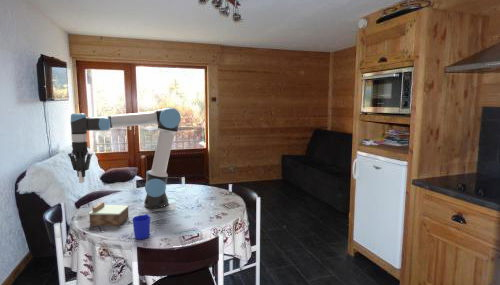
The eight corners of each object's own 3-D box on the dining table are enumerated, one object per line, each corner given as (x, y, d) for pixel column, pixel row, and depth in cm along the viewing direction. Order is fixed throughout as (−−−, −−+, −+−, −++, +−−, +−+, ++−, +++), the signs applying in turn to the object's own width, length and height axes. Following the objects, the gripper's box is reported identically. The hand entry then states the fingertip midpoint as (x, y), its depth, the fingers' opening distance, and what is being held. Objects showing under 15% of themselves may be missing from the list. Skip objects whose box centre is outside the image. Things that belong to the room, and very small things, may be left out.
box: (128, 217, 175) (128, 207, 174) (119, 225, 163) (118, 215, 162) (101, 216, 175) (100, 207, 174) (90, 225, 163) (89, 214, 162)
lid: (128, 206, 174) (128, 201, 174) (119, 215, 162) (118, 209, 161) (100, 206, 175) (100, 200, 174) (88, 214, 162) (88, 208, 161)
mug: (154, 230, 158) (154, 212, 157) (147, 240, 146) (147, 221, 145) (139, 230, 158) (138, 212, 156) (130, 240, 146) (130, 221, 144)
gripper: (94, 140, 171) (96, 181, 174) (72, 140, 172) (74, 180, 175) (87, 142, 164) (89, 184, 167) (63, 141, 164) (66, 183, 167)
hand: (81, 182), depth 171 cm, fingers closed
